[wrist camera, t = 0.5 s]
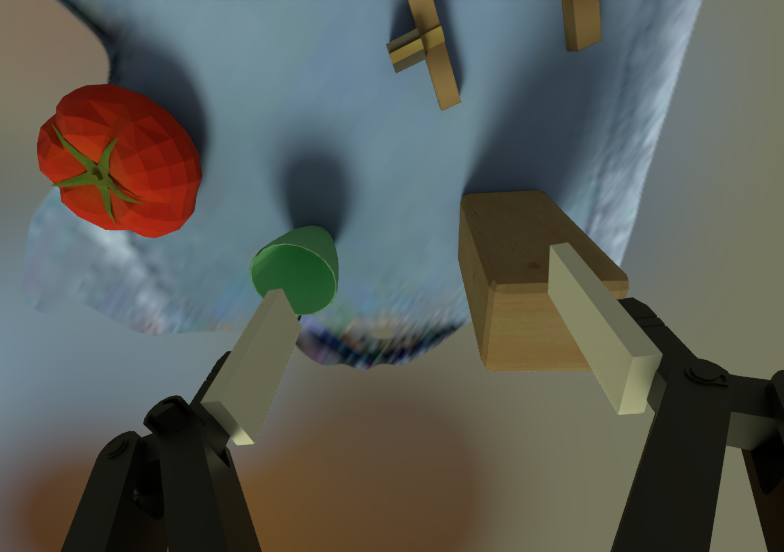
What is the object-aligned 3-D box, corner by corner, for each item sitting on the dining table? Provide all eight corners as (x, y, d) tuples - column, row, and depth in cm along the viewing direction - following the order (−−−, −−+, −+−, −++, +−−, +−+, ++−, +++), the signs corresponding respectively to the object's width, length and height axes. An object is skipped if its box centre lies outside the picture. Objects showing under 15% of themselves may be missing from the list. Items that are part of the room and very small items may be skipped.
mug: (285, 197, 42) (253, 231, 34) (358, 220, 43) (346, 259, 35) (272, 285, 50) (243, 330, 41) (335, 303, 51) (319, 350, 43)
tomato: (230, 125, 38) (179, 143, 29) (202, 236, 46) (155, 274, 37) (95, 51, 34) (-6, 48, 26) (91, 185, 42) (13, 215, 34)
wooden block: (459, 191, 40) (493, 283, 24) (543, 186, 39) (640, 279, 23) (456, 261, 46) (482, 376, 29) (530, 258, 45) (600, 375, 28)
